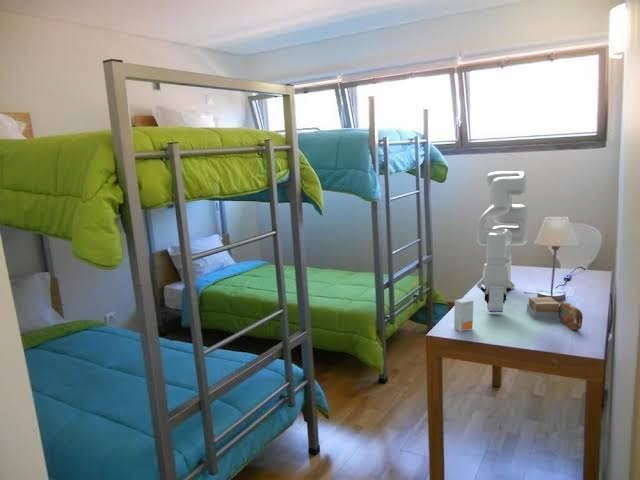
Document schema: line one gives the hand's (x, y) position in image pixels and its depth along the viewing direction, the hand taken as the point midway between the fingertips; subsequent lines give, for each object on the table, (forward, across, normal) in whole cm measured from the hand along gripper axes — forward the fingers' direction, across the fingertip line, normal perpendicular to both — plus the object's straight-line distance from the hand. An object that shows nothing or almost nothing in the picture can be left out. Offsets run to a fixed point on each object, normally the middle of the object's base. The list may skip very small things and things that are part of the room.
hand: (495, 301), depth 206 cm
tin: (+6, -26, +13) cm, 29 cm away
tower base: (+6, -19, 0) cm, 20 cm away
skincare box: (+5, +15, +19) cm, 25 cm away
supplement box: (+4, 0, 0) cm, 4 cm away
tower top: (+3, -19, +1) cm, 19 cm away
